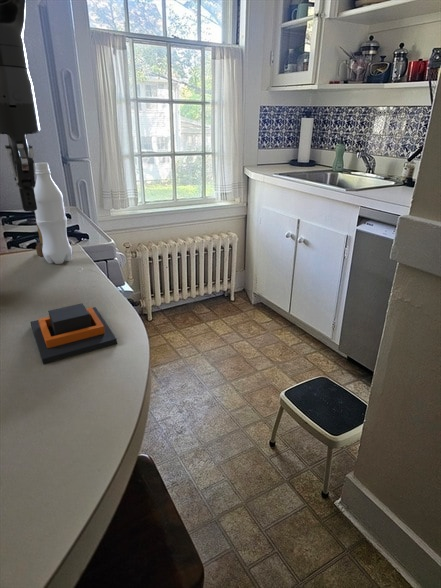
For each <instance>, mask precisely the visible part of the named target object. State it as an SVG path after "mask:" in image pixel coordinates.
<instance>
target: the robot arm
mask: <svg viewBox="0 0 441 588" xmlns="http://www.w3.org/2000/svg"><path fill="white" fill-rule="evenodd" d="M26 3H27V0H0V135H6V137H7V142H8V144H4V145H3V147H4V152H5V155H6V157H7V159H8V163H9V168H10V172H11V174H12V175H13V176H14V178H13V180H14V181H15V185H16V187H17V189H18V191H19V197H20V203H21V206H22V207H21V208H22V209H23V211H24V212H35V210H37V205H36V199H35V193H34V187H35V184H36V178H35V175H36V174H35V172H36V171H35V170H36V168H35V161H34V158H35V154H34V148H33V145H31V144H28V141H27V135H34V134H39V133H40V132H41V126H40V121H39V114H38V108H37V101H36V96H35V90H34V85H33V81H32V78H31V74H30V70H29V64H28V58H27V52H26V46H25V41H24V32H25V24H26Z"/></svg>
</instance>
